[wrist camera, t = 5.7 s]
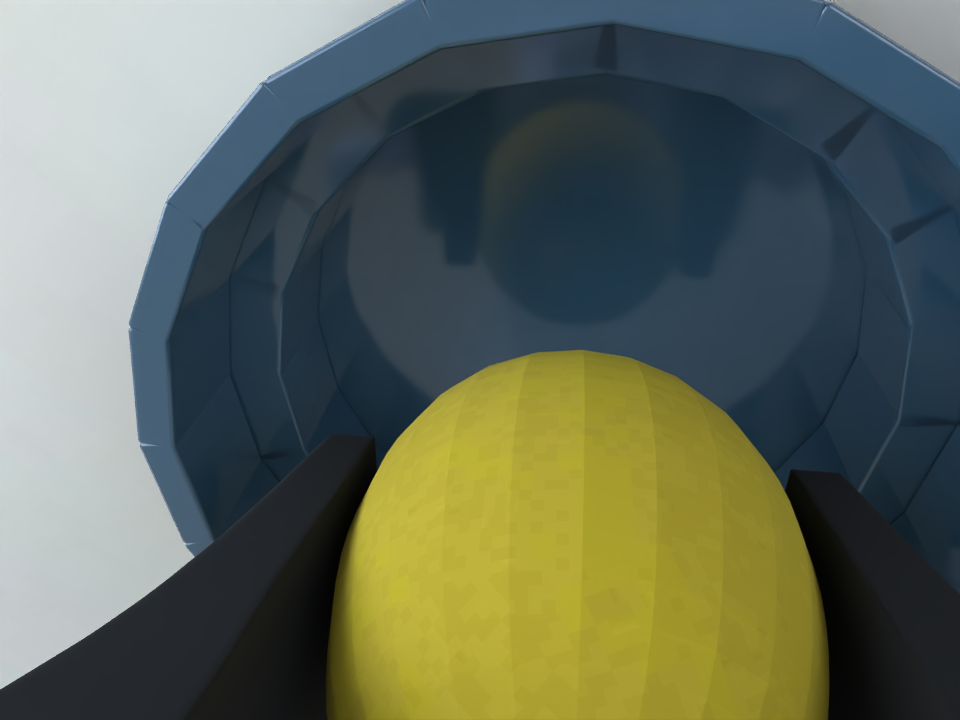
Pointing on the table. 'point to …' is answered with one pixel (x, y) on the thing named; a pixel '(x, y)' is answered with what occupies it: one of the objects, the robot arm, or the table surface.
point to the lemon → (575, 560)
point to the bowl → (569, 242)
